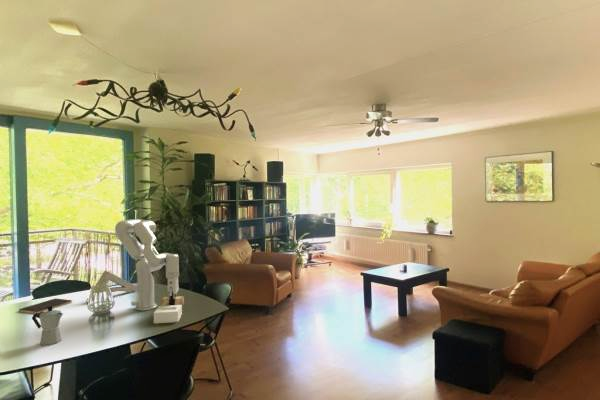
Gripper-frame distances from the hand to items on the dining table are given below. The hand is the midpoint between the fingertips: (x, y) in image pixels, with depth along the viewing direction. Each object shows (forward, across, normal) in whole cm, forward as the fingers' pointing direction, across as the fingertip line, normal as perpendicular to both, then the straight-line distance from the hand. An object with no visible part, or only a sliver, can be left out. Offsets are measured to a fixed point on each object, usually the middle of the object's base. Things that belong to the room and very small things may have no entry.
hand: (173, 303), depth 215 cm
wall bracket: (+5, +42, +48) cm, 64 cm away
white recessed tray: (+5, -13, 0) cm, 14 cm away
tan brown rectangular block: (+5, 0, 0) cm, 5 cm away
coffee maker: (+5, -36, +52) cm, 63 cm away
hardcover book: (+6, +24, +83) cm, 87 cm away
